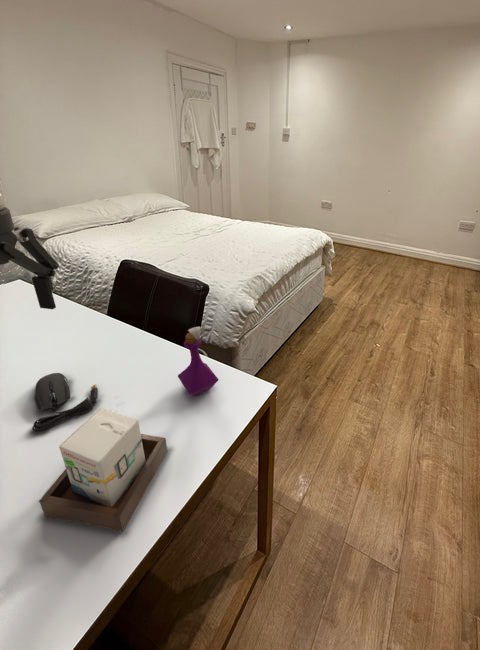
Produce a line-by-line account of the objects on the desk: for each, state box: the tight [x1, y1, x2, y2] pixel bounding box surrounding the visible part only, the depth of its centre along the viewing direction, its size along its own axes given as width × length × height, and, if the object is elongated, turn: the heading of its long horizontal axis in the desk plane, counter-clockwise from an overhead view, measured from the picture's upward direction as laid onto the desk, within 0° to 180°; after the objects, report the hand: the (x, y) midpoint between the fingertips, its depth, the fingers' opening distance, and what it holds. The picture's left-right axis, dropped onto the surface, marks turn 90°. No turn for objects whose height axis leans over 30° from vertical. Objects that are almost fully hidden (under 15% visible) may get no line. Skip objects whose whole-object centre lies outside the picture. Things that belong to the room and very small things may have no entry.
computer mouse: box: [31, 372, 99, 432], centre depth 75 cm, size 12×18×4 cm
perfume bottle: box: [177, 326, 219, 397], centre depth 77 cm, size 8×8×18 cm
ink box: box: [58, 407, 146, 508], centre depth 56 cm, size 8×8×12 cm
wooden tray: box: [38, 433, 168, 532], centre depth 58 cm, size 14×14×4 cm
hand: (15, 327), depth 56 cm, fingers open, 13 cm apart
